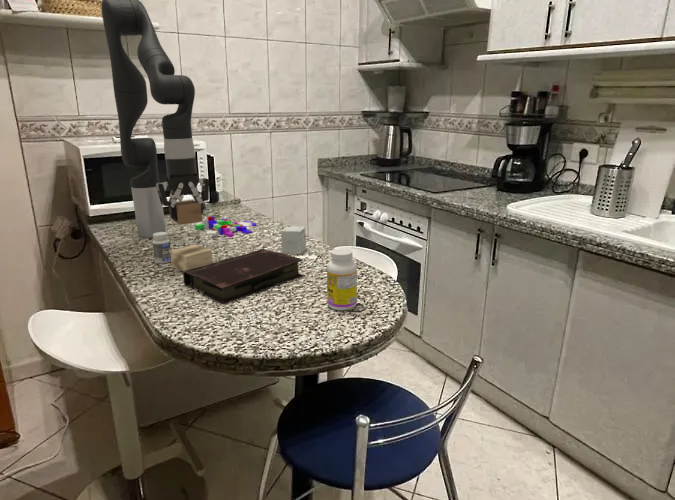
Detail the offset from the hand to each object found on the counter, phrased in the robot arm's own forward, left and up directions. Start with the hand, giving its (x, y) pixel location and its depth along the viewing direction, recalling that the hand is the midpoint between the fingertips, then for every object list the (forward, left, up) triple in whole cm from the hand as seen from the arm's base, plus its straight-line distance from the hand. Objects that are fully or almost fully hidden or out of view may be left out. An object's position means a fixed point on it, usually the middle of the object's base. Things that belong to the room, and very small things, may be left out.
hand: (187, 218), depth 125 cm
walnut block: (0, 0, -1) cm, 1 cm away
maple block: (0, 0, -14) cm, 14 cm away
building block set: (-34, +26, -15) cm, 45 cm away
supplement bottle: (+47, +17, -14) cm, 52 cm away
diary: (+19, +7, -15) cm, 25 cm away
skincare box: (+6, +30, -14) cm, 34 cm away
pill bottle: (-10, -5, -14) cm, 18 cm away
